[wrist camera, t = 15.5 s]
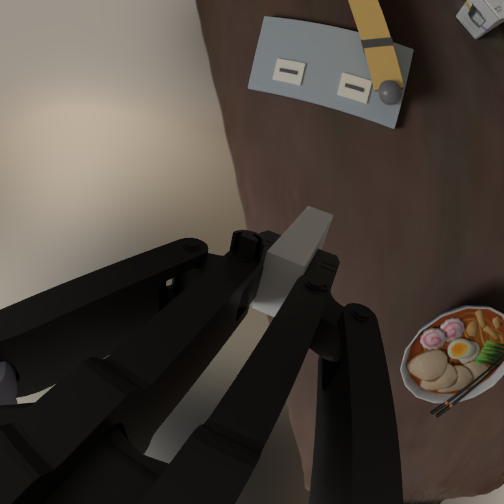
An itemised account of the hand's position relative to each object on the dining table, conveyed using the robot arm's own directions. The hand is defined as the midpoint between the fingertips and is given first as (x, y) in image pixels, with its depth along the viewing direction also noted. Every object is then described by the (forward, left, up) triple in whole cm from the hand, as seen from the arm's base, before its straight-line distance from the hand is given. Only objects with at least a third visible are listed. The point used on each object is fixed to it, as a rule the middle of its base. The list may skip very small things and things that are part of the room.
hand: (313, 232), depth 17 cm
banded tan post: (+2, -21, -28) cm, 35 cm away
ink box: (-14, -32, -31) cm, 47 cm away
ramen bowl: (-30, +21, -31) cm, 48 cm away
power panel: (+8, -14, -30) cm, 34 cm away
